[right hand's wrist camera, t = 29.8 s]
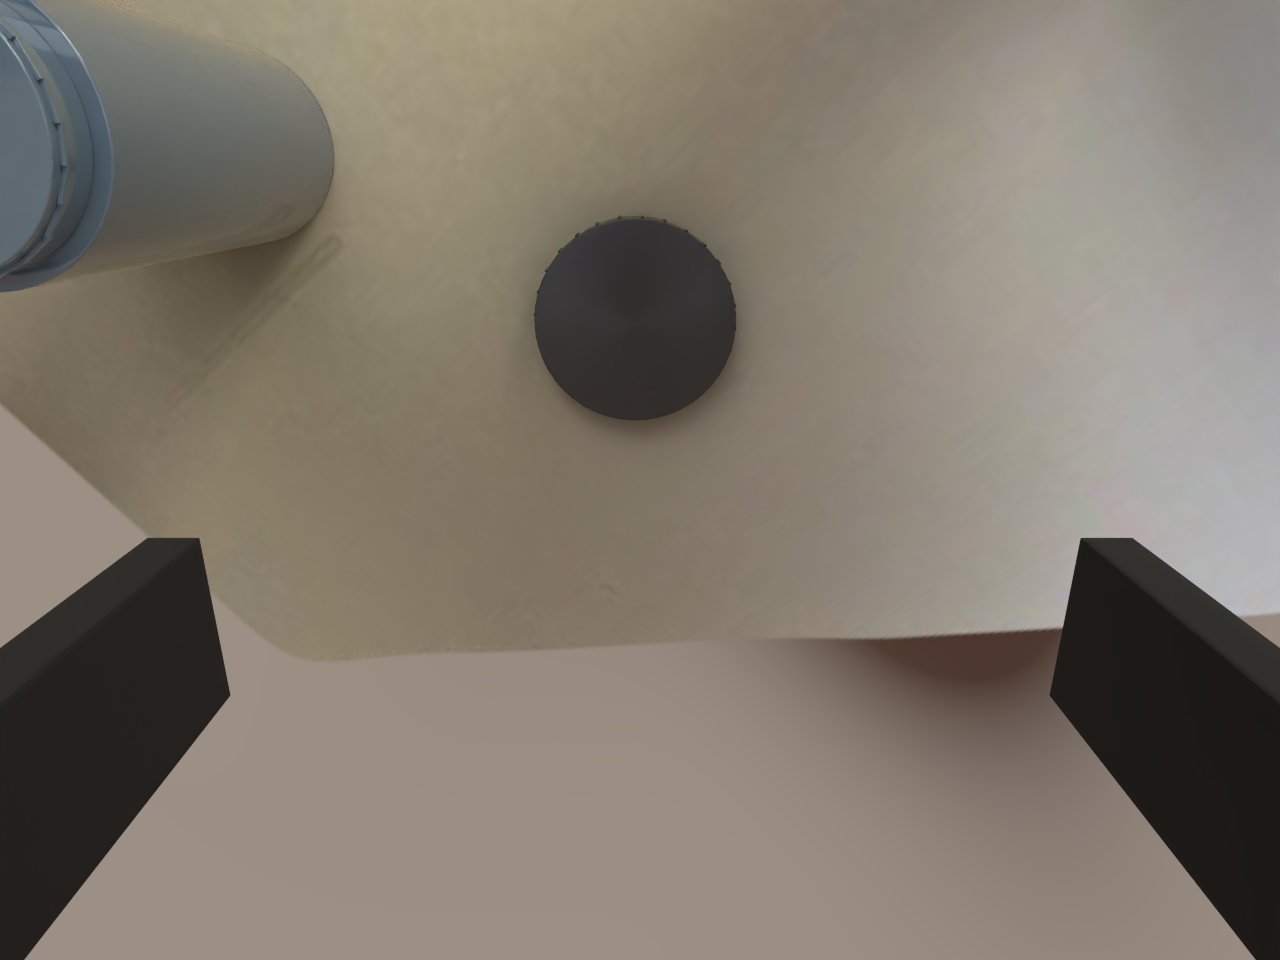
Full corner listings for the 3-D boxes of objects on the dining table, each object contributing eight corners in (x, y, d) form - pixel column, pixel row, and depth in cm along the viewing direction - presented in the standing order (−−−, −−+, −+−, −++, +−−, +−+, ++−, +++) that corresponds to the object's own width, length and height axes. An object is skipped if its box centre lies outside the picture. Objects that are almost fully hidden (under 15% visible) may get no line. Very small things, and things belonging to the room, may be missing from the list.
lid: (677, 176, 38) (679, 177, 36) (765, 356, 41) (770, 364, 39) (501, 275, 40) (495, 280, 38) (597, 442, 42) (595, 454, 41)
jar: (281, 279, 40) (0, 364, 22) (116, 170, 38) (-328, 170, 21) (367, 123, 37) (128, 82, 20) (195, 1, 36) (-231, -162, 18)
